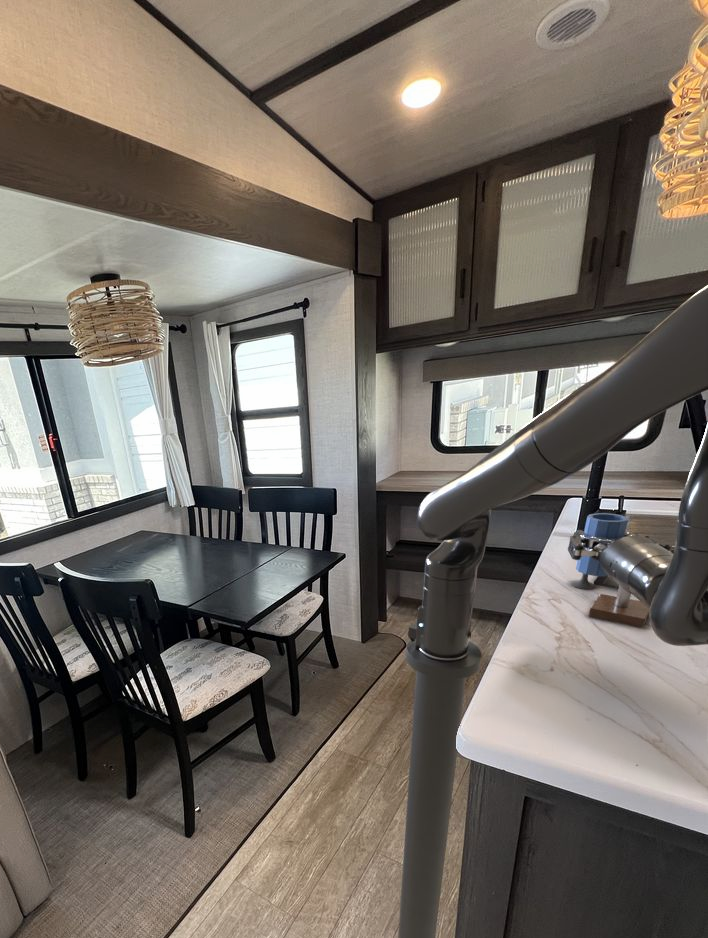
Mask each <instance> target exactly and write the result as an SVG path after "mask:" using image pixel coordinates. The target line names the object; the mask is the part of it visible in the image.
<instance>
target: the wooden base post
mask: <svg viewBox="0 0 708 938" xmlns="http://www.w3.org/2000/svg"><path fill="white" fill-rule="evenodd" d="M631 595H632V594H630V593H628V592H627V591H625V590H624V589H623V588H622V587H621V586H620V585H619V588H617V593H616V596H615V595H609V594H605V593H599V594H598V596H597V597H596V599H595V601H594V602H592V605H591V606H590V608H589V612H588V617H589V618H593V619H599V620H603V621H607V622H613V623H617V624H622V625H627V626H632V627H637V628H641V629H642V628H644V625H645V623H646V621H647V619H648V617H649V613H650V608H648V607H647V606H646V605H645V604H643V603H642V602H641V601H640V600H638V599H637V600H636V599H632V598H631Z"/></svg>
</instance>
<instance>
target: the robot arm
mask: <svg viewBox="0 0 708 938" xmlns="http://www.w3.org/2000/svg"><path fill="white" fill-rule="evenodd" d="M706 391H708V284H707V285H704V287H702V288H701V289H700V290H698V291H697V292H695V293H694V294H693V295H691V296H690V297H689V298H688V299H687V300H685V301H684V302H683V303H682V304H681V305H679V306H678V308H676V309H675V310H674V311H673V312H672V313H671V314H669V315H668V316H667V317H666V318H665V319H664V320H663V321H662V322H661V323H659V324H658V325H657V326H656V327H655V328H654V329H653V330H651V331H650V332H649V333H648V334H647V335H645V337H643V339H641V340H640V341H639V342H637V344H636V345H634V346H633V347H632V348H631V349H630V350H628V351H627V352H626V353H625V354H624V355H623V356H622V357H620V358H619V359H618V360H617V361H616V362H615V363H613V364H612V365H611V366H609V367H608V368H606V369H605V370H604V371H603V372H601V373H600V374H598V375H597V376H595V377H594V378H592V379H590V380H589V381H587V382H585V383H584V384H583V385H581V386H579V387H578V388H576V389H574V391H571V392H570V393H569V394H567V395H566V396H564V397H563V398H561V399H560V400H558V401H557V402H556V403H554V404H553V405H552V406H550V407H548V408H547V409H545V410H544V411H542V413H540V414H538V415H537V416H536V417H534V418H533V419H532V420H531V421H530V422H528V423H526V424H525V425H524V426H523V427H521V428H520V429H519V430H518V431H516V432H515V433H514V434H513V435H511V436H509V438H508V439H507V440H505V441H504V442H502V443H501V444H500V445H498V446H497V447H495V448H494V449H493V450H491V451H490V452H489V453H488V454H487V455H485V456H484V457H482V458H481V459H480V460H479V461H477V463H475V464H474V465H473V466H472V467H470V468H469V469H467V470H466V471H464V472H463V473H461V474H460V475H458V476H456V477H454V478H453V479H452V480H449V481H448V482H446V483H444V484H442V485H441V486H439V487H437V488H435V489H434V490H432V491H431V492H429V493H428V494H427V495H426V496H425V497H424V498H423V499H422V501H421V503H420V504H419V506H418V510H417V515H416V523H417V527H418V529H419V530H420V532H421V533H422V534H423V535H424V536H425V537H427V538H428V539H430V540H433V541H439V542H441V543H440V544H439V546H438V547H437V548H435V549H434V550H433V551H431V552H430V553H429V554H428V555H427V556H426V558H425V561H424V574H423V575H424V576H423V589H422V602H421V605H420V606H419V607H418V608H417V615H416V621H415V622H414V623H412V624H411V625H410V626H408V630H407V638H408V639H409V641H410V640H411V641H412V642H413V641H415V639H416V644H415V650H418V651H420V652H421V653H422V654H423V655H424V656H426V657H428V658H430V659H433V660H437V661H443V662H454V661H459V660H462V659H464V658H465V657H466V656H467V655H468V647H469V641H471V639H472V632H471V627H472V619H473V611H474V601H475V594H476V584H477V577H478V576H477V575H478V569H479V565H480V564H481V562H482V561H483V558H484V556H485V552H486V545H487V539H488V535H489V529H490V523H491V515H492V514H491V513H492V511H491V510H492V509H495V508H497V507H501V506H503V505H506V504H509V503H512V502H515V501H518V500H521V499H524V498H526V497H529V496H531V495H535V494H537V493H539V492H541V491H543V490H546V489H548V488H551V487H553V486H554V485H557V484H558V483H560V482H562V481H564V480H566V479H567V478H569V477H571V476H573V475H574V474H576V473H578V472H580V471H582V470H583V469H585V468H586V467H588V466H590V465H591V464H593V463H594V462H596V461H597V460H599V459H600V458H601V457H602V456H604V455H605V454H607V453H608V452H609V451H610V450H611V449H613V447H615V446H616V445H617V444H618V443H619V442H621V441H622V440H623V439H624V438H625V437H626V436H628V434H630V433H631V432H633V430H635V429H636V428H638V427H639V426H640V425H642V424H644V423H645V422H647V421H648V420H650V419H652V418H655V417H656V416H657V415H659V414H662V413H663V412H666V411H668V410H670V409H672V408H673V407H675V406H677V405H679V404H682V403H683V402H685V401H687V400H689V399H691V398H693V397H696V396H697V395H700V394H702V393H704V392H706ZM677 514H678V516H677V524H676V525H677V526H676V533H675V534H676V535H675V543H674V544H675V545H674V552H672V547H673V545H672V544H670V543H667V542H665V541H662V540H660V539H658V538H655V537H653V536H650V535H639V536H637V535H634V534H631V533H630V534H628V533H627V532H626V533H625V537H622V538H620V539H617V540H615V539H607V538H604V537H600V536H594V537H591V536H588V535H587V534H586V533H584V530H582V529H576V531H574V532H573V535H570V536H569V543H568V547H567V551H568V553H569V555H570V557H571V559H572V560H574V561H577V560H580V559H581V558H582V557H583V556H591V557H592V558H593V559H594V560H597V561H599V562H600V564H601V567H602V569H603V571H604V572H605V573H606V574H607V575H608V576H609V577H610V578H611V579H613V580H614V581H615V582H616V583H617V584H618V585H620V586H621V587H622V588H623V589H624V590H625V591H627V592H628V593H630V594H631V595H632V596H634V597H635V598H636V599H637V600H638V601H641V602H642V603H643V604H645V605H646V606H647V607H648V608H650V612H649V614H648V618H649V624H650V628H651V629H652V632H653V633H654V634H655V635H656V637H657V638H658V639H660V640H661V641H662V642H664V643H666V644H668V645H671V646H676V647H693V646H704V645H705V646H707V645H708V423H707V424H706V428H705V432H704V435H703V438H702V441H701V444H700V446H699V449H698V451H697V453H696V457H695V459H694V462H693V464H692V466H691V469H690V472H689V474H688V477H687V480H686V482H685V485H684V488H683V491H682V495H681V498H680V503H679V507H678V513H677ZM588 541H589V546H588V547H587V543H588ZM599 542H601V543H599Z"/></svg>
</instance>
